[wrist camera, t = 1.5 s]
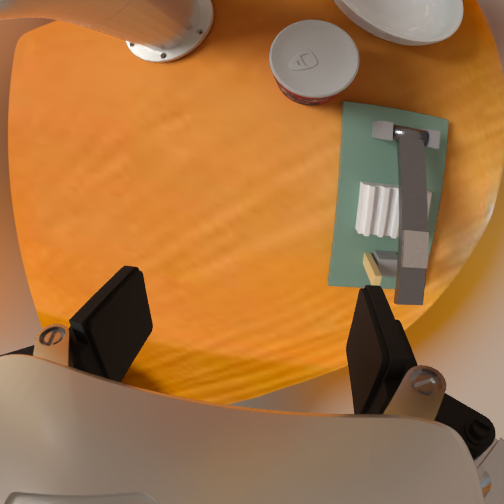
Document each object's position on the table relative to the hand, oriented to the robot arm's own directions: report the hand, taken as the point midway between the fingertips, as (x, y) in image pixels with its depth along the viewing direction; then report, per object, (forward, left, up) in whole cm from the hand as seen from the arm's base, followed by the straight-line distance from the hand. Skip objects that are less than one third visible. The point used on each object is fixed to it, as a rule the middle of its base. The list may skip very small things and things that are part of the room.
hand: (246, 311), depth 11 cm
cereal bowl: (-26, +13, -28) cm, 41 cm away
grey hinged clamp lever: (+1, +14, -20) cm, 25 cm away
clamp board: (+2, +14, -28) cm, 31 cm away
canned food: (-13, +3, -28) cm, 31 cm away
